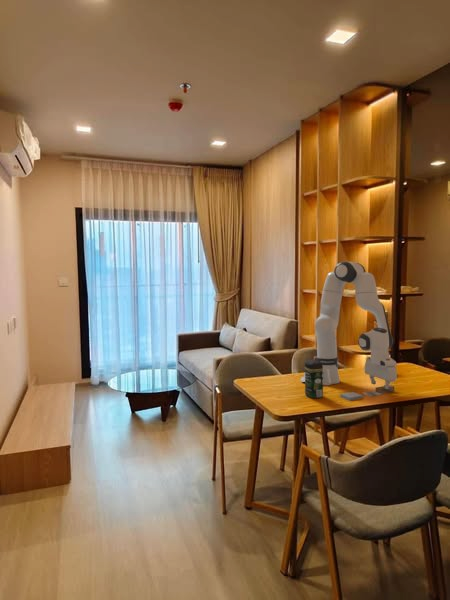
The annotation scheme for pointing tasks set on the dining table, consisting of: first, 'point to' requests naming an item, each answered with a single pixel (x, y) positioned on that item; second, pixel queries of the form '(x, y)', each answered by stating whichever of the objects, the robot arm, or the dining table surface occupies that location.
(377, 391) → the turner
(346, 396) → the tile
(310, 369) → the coffee jar
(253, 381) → the dining table surface
